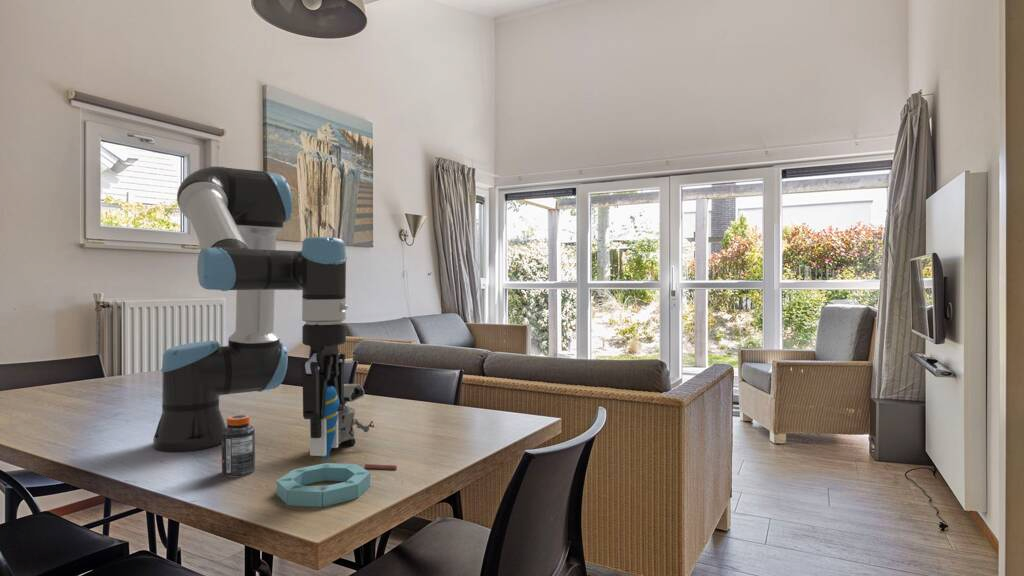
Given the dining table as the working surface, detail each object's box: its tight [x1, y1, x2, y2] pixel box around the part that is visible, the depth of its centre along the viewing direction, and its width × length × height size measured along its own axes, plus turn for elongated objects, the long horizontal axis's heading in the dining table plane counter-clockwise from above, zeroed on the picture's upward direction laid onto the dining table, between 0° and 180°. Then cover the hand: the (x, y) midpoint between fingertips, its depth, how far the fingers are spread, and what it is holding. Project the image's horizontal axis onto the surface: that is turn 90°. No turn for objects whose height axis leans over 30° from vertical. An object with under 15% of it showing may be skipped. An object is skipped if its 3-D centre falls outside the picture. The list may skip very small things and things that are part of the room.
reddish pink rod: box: [363, 463, 398, 470], centre depth 117 cm, size 7×1×1 cm, turn 83°
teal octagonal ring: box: [276, 462, 371, 508], centre depth 105 cm, size 15×15×2 cm
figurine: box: [337, 383, 375, 447], centre depth 130 cm, size 9×12×15 cm
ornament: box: [321, 385, 340, 461], centre depth 105 cm, size 5×5×15 cm
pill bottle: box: [221, 414, 256, 478], centre depth 114 cm, size 6×6×11 cm
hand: (324, 450), depth 105 cm, fingers closed on ornament, 4 cm apart
